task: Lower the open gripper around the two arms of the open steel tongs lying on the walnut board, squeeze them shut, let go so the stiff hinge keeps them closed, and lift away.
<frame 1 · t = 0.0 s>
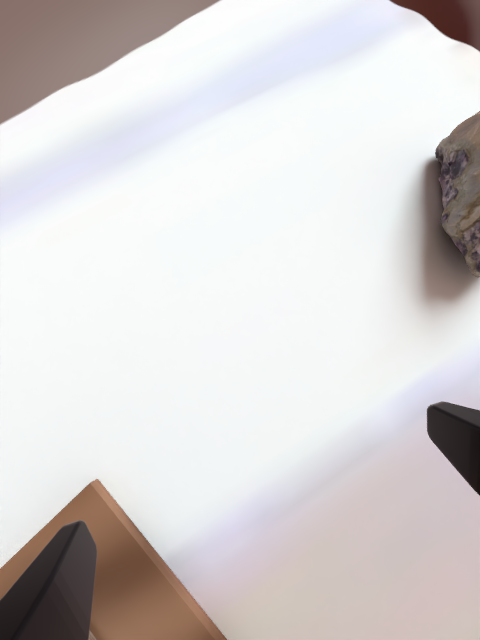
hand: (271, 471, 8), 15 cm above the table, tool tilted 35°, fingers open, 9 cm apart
mineral rock: (451, 212, 29), on the table
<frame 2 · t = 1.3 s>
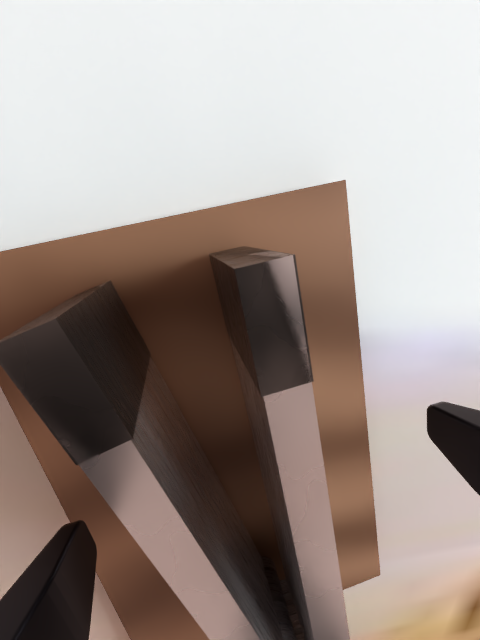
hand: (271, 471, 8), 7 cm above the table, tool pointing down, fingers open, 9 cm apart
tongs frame: (272, 558, 16), resting on board
tongs arm: (199, 517, 11), point 4 cm above the table, hinge at 10.0°
board: (224, 450, 15), on the table
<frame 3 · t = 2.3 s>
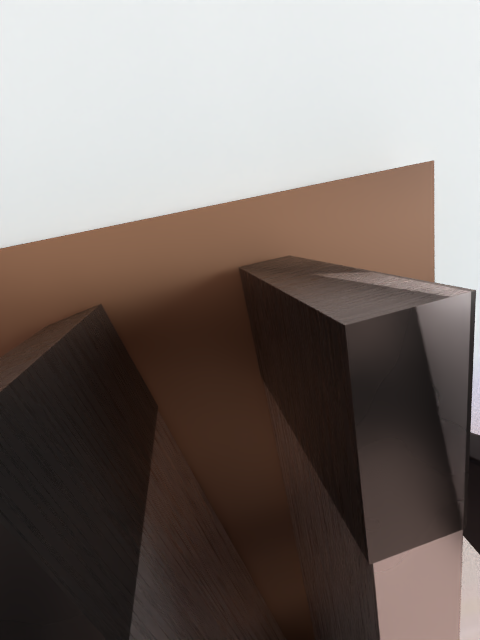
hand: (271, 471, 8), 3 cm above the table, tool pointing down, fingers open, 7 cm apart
board: (246, 517, 11), on the table
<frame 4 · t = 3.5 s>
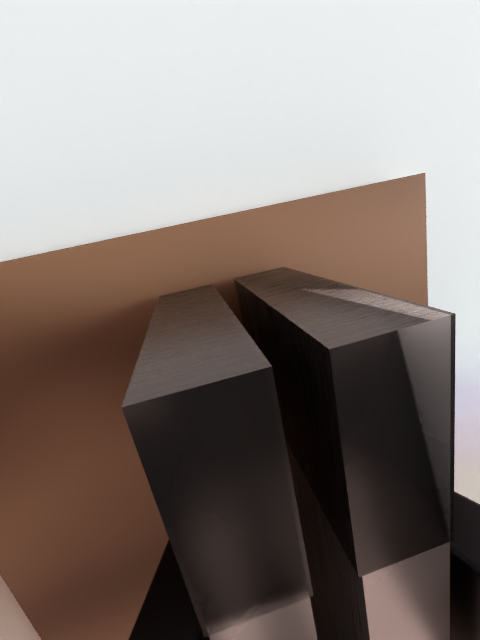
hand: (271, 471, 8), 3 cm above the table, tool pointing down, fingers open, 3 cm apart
board: (244, 525, 11), on the table
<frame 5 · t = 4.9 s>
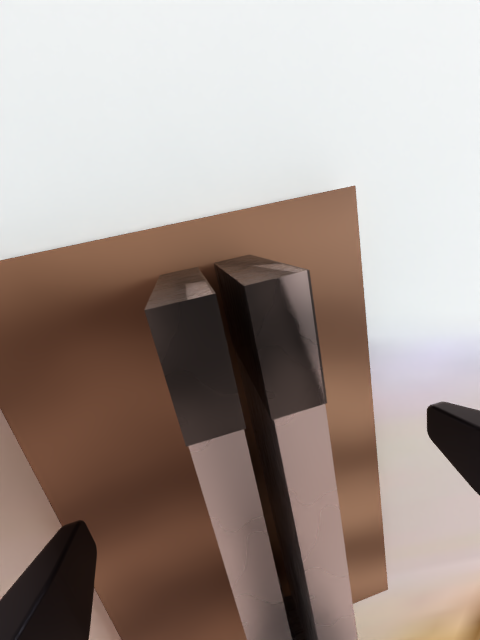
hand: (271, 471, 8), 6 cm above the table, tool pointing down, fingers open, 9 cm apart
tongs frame: (277, 574, 15), resting on board
tongs arm: (242, 522, 10), point 4 cm above the table, hinge at -0.5°
board: (227, 463, 14), on the table
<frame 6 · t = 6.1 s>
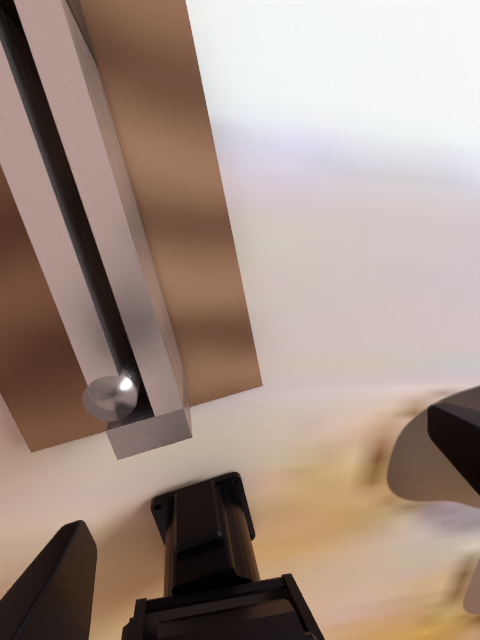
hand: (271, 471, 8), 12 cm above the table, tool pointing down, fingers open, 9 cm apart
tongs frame: (147, 345, 17), resting on board
tongs arm: (63, 205, 12), point 4 cm above the table, hinge at -0.5°
board: (95, 232, 16), on the table
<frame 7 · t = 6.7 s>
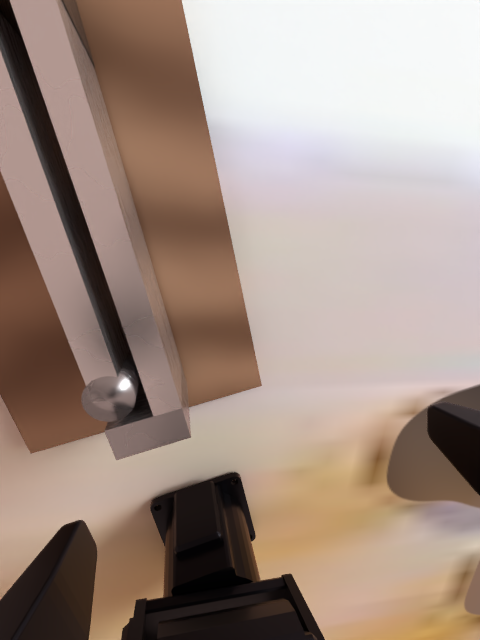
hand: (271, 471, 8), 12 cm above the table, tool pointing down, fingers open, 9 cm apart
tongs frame: (146, 346, 17), resting on board
tongs arm: (61, 206, 12), point 4 cm above the table, hinge at -0.5°
board: (94, 233, 16), on the table
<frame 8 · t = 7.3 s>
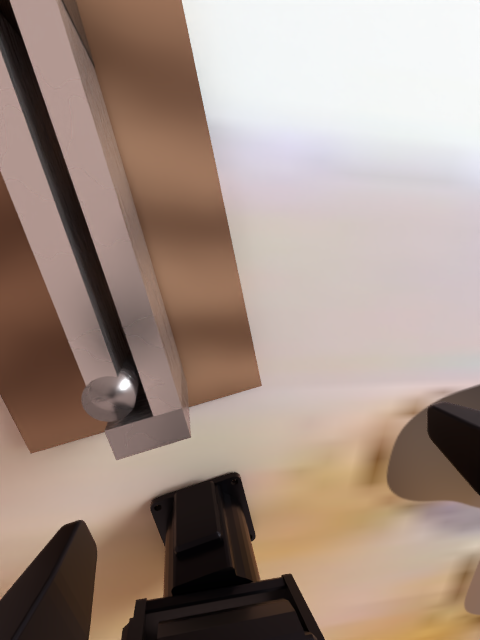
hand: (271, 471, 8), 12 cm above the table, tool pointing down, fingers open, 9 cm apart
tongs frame: (146, 346, 17), resting on board
tongs arm: (61, 206, 12), point 4 cm above the table, hinge at -0.5°
board: (94, 233, 16), on the table
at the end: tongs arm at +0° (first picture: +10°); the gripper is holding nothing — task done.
